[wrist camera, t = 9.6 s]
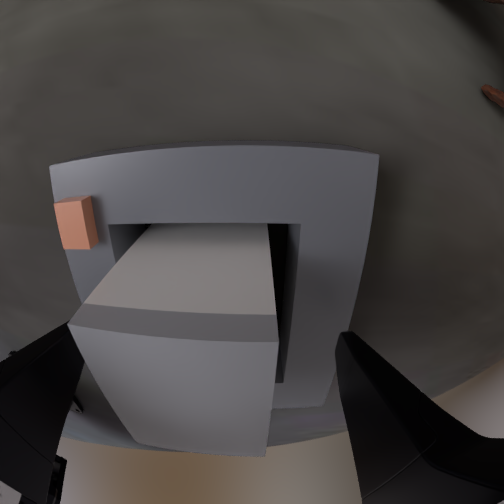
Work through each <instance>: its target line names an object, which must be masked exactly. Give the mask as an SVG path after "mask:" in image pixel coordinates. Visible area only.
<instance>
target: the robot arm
mask: <svg viewBox="0 0 504 504" xmlns="http://www.w3.org/2000/svg"><path fill="white" fill-rule="evenodd" d="M69 321H70V320H69ZM69 321H68V322H66V323H64V324H63V325H61V326H59V327H57V328H56V329H54V330H52V331H51V332H49V333H47V334H46V335H44V336H42V337H41V338H39V339H37V340H36V341H34V342H32V343H31V344H29V345H27V346H26V347H24V348H22V349H21V350H19V351H17V352H16V353H15V352H12V351H11V352H10V353H9V354H8V355H9V357H8V358H6V360H3V361H1V362H0V504H60V501H61V495H62V487H63V481H64V475H65V469H66V464H67V460H66V459H64V458H63V457H60V456H58V455H56V452H57V448H58V445H59V440H60V437H61V434H62V430H63V427H64V424H65V420H66V417H67V414H68V412H69V410H71V411H74V412H77V413H80V414H82V413H83V411H84V409H83V408H82V407H81V405H80V404H79V402H78V401H77V400H76V398H75V397H74V393H75V390H76V387H77V384H78V382H79V379H80V376H81V373H82V369H83V365H84V362H85V360H84V358H83V356H82V354H81V352H80V350H79V348H78V346H77V344H76V342H75V340H74V338H73V336H72V334H71V331H70V329H69V327H68V325H67V324H68V323H69ZM335 361H336V368H337V376H338V385H339V392H340V398H341V402H342V406H343V411H344V415H345V419H346V424H347V428H348V432H349V437H350V442H351V446H352V451H353V456H354V461H355V466H356V470H357V476H358V481H359V487H360V492H361V497H362V504H504V438H488V437H484V436H481V435H479V434H477V433H476V432H474V431H473V430H471V429H470V428H468V427H467V426H465V425H464V424H463V423H461V422H460V421H458V420H456V419H455V418H454V417H453V416H451V415H450V414H448V413H447V412H446V411H444V410H443V409H442V408H440V407H439V406H438V405H437V404H436V403H434V402H433V401H432V400H431V399H430V398H428V397H427V396H426V395H425V394H424V393H423V392H421V391H420V390H419V389H418V388H417V387H416V386H415V385H414V384H412V383H411V382H410V381H409V380H408V379H407V378H406V377H404V376H403V375H402V374H401V373H400V372H399V371H398V370H396V369H395V368H394V367H393V366H392V365H391V364H390V363H388V362H387V361H386V360H385V359H384V358H383V357H382V356H380V355H379V354H378V353H377V352H376V351H375V350H374V349H372V348H371V347H370V346H369V345H368V344H367V343H366V342H364V341H363V340H362V339H361V338H360V337H359V336H358V335H356V334H355V333H354V332H352V331H344V332H341V333H340V334H339V337H338V341H337V344H336V348H335Z"/></svg>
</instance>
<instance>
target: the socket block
mask: <svg viewBox="0 0 504 504" xmlns="http://www.w3.org/2000/svg"><path fill="white" fill-rule="evenodd" d="M378 165H379V154H376V153H372V152H369V151H365V150H362V149H358V148H354V147H351V146H345V145H336V144H324V143H311V142H294V141H266V140H226V141H198V142H181V143H168V144H156V145H147V146H138V147H129V148H122V149H115V150H108V151H102V152H95V153H91V154H87V155H83V156H80V157H76V158H73V159H69V160H66V161H63V162H60V163H56V164H53V165H50V166H49V167H50V175H51V183H52V190H53V196H54V202H55V203H54V208H55V213H56V218H57V223H58V227H59V232H60V236H61V240H62V244H63V248H64V249H65V252H66V256H67V259H68V263H69V266H70V270H71V273H72V276H73V280H74V283H75V286H76V289H77V292H78V295H79V298H80V301H81V303H82V304H83V303H84V302H85V300H86V299H87V298H88V297H89V295H90V294H91V293H92V292H93V290H94V289H95V288H96V287H97V285H98V284H99V283H100V282H101V281H102V279H103V278H104V277H105V276H106V275H107V273H108V272H109V271H110V270H111V269H112V268H113V266H114V265H115V264H116V263H117V262H118V261H119V259H120V258H121V257H122V256H123V255H124V254H125V253H126V252H127V250H128V249H129V248H130V247H131V246H132V245H133V244H134V243H135V242H136V240H137V239H138V238H139V237H140V236H141V235H142V234H143V233H144V232H145V225H144V224H145V223H287V224H288V232H287V249H286V264H285V278H284V291H283V303H282V315H281V327H280V337H279V346H278V356H277V366H276V375H275V384H274V392H273V401H272V409H278V408H302V407H317V406H323V405H324V402H325V400H326V397H327V394H328V391H329V389H330V386H331V383H332V380H333V377H334V374H335V371H336V361H335V348H336V344H337V341H338V337H339V334H340V333H341V332H344V331H348V328H349V324H350V321H351V317H352V313H353V309H354V305H355V301H356V297H357V293H358V288H359V284H360V280H361V275H362V270H363V265H364V261H365V255H366V250H367V245H368V239H369V233H370V227H371V221H372V215H373V208H374V200H375V193H376V184H377V175H378Z"/></svg>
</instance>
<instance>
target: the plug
mask: <svg viewBox="0 0 504 504" xmlns="http://www.w3.org/2000/svg"><path fill="white" fill-rule="evenodd" d="M67 325H68V327H69V329H70V331H71V334H72V336H73V338H74V340H75V342H76V344H77V346H78V348H79V350H80V352H81V354H82V356H83V358H84V360H85V362H86V364H87V366H88V368H89V370H90V372H91V373H92V375H93V377H94V379H95V380H96V382H97V384H98V386H99V387H100V389H101V391H102V392H103V394H104V396H105V397H106V399H107V401H108V402H109V404H110V405H111V407H112V408H113V410H114V411H115V413H116V414H117V416H118V417H119V419H120V420H121V422H122V423H123V425H124V426H125V427H126V429H127V430H128V432H129V433H130V434H131V436H132V437H133V438H134V440H135V441H136V442H137V443H140V444H145V445H150V446H155V447H160V448H166V449H172V450H178V451H185V452H193V453H202V454H214V455H227V456H265V453H266V446H267V439H268V432H269V424H270V417H271V409H272V401H273V392H274V384H275V375H276V366H277V356H278V346H279V337H278V326H277V316H276V305H275V295H274V285H273V275H272V265H271V255H270V246H269V236H268V227H267V223H152V224H151V225H150V227H149V228H148V229H147V230H146V231H145V232H144V233H143V234H142V235H141V236H140V237H139V238H138V239H137V240H136V242H135V243H134V244H133V245H132V246H131V247H130V248H129V249H128V250H127V252H126V253H125V254H124V255H123V256H122V257H121V258H120V259H119V261H118V262H117V263H116V264H115V265H114V266H113V268H112V269H111V270H110V271H109V272H108V273H107V275H106V276H105V277H104V278H103V279H102V281H101V282H100V283H99V284H98V285H97V287H96V288H95V289H94V290H93V292H92V293H91V294H90V295H89V297H88V298H87V299H86V300H85V302H84V303H83V304H82V305H81V307H80V308H79V309H78V311H77V312H76V313H75V315H74V316H73V317H72V318H71V320H70V321H69V323H68V324H67Z"/></svg>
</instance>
